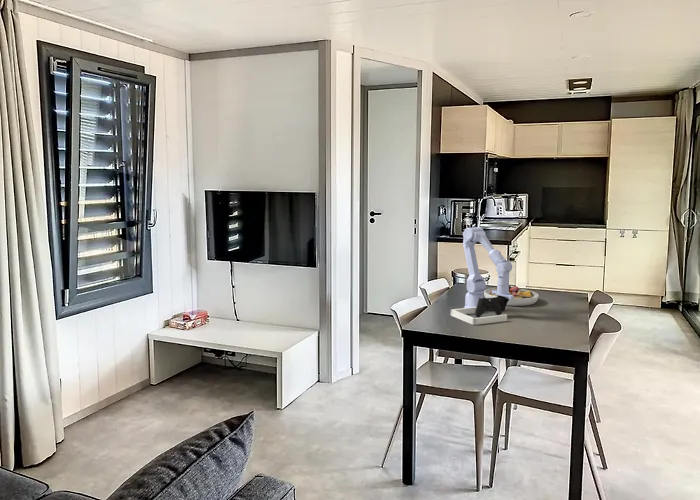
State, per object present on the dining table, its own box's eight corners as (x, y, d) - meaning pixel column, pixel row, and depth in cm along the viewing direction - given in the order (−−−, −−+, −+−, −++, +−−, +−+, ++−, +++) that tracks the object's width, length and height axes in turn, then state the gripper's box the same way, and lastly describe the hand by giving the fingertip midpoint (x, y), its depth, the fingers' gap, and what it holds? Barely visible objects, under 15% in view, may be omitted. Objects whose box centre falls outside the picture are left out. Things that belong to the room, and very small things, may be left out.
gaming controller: (478, 318, 278) (478, 299, 277) (473, 315, 284) (473, 296, 282) (504, 317, 281) (504, 298, 280) (498, 314, 287) (499, 295, 285)
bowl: (545, 307, 303) (546, 293, 302) (490, 307, 304) (491, 293, 303) (528, 296, 333) (529, 283, 332) (478, 295, 334) (479, 282, 332)
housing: (450, 315, 285) (450, 309, 284) (482, 311, 293) (482, 306, 292) (473, 324, 267) (473, 318, 266) (506, 320, 274) (507, 315, 274)
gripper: (518, 286, 278) (517, 313, 280) (500, 281, 291) (499, 306, 293) (507, 287, 275) (506, 314, 277) (489, 282, 289) (488, 308, 290)
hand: (502, 310), depth 285 cm, fingers closed
